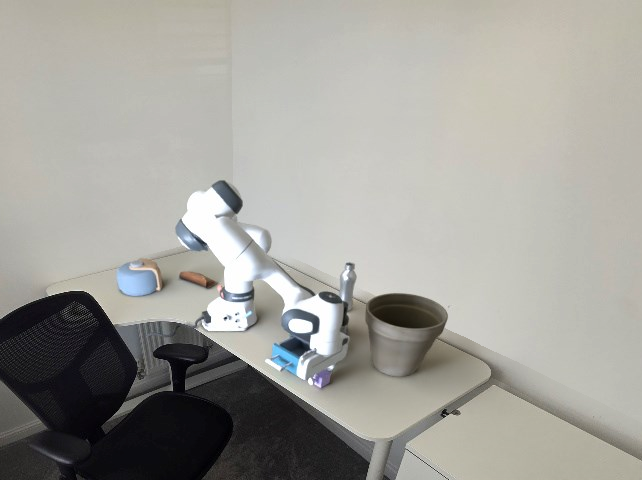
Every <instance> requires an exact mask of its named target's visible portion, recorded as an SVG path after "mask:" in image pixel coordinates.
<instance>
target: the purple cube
mask: <svg viewBox="0 0 642 480" xmlns="http://www.w3.org/2000/svg"><path fill="white" fill-rule="evenodd" d="M331 375H332V374H331V373H330V372H328V371H326V369H325V370H323V371H321V372H319V373H318V374H316V375H314V377H313V378H314V379H316V381H315V384H314V385H315V386H317V387H318V388H319V389H322V388H323V387H325V386H327V385H328V384H330V383H331Z"/></svg>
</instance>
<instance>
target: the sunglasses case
mask: <svg viewBox="0 0 642 480" xmlns="http://www.w3.org/2000/svg"><path fill="white" fill-rule="evenodd" d="M178 278H179V279H181V280H185V281H189V282H191V283H194V284H197V285H199V286H202V287H204V288H206V289H210V288H212V287H214V286H216V285H217V284H218V282H217V281H216V280H214V279H212V278H210V277H208V276H205V274H202V273H199V272H196V271H190V270H189V271H188V270H187V271H186V270H184V271H180V272H179V275H178Z"/></svg>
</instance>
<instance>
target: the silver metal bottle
mask: <svg viewBox="0 0 642 480" xmlns="http://www.w3.org/2000/svg"><path fill="white" fill-rule="evenodd" d="M355 267H356V264H355V263H354V262H350V261H349V262H346V263H345V264H344V270H343V271H341V273H340V275H339V292H338V296H339V297H340V298H341V299H342V301H345V302H347V303H348V310H347V312H349V311H351V309H352V308H353V306H354V289H355V285H356V281H357V273H356V271H355V269H356V268H355Z"/></svg>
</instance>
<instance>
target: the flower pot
mask: <svg viewBox="0 0 642 480" xmlns="http://www.w3.org/2000/svg"><path fill="white" fill-rule="evenodd" d="M364 313H365V315H364V322H365V323H366V326H367V331H368V338H369V343H370V344H369V345H370V346H369V347H370V353H371V359H372V360H371V361H372V365H373V366H374V367H375V369H377V371H379V372H381V373H382V374H385V375H387V376H391V377H398V378H399V377H400V378H401V377H407V376H411V375H413V374H415V372H416V370H417V369H418V368H419V366H420V365H421V364H422V362H423V360H424V358H425V357H426V355H428V352H429V351H430V349H431V347H432V346H433V345H434V343H435V341H436V340H437V338H438V337H440V336H441V335H442V334H443V333H444V330H445V327H446V326H447V325H446V324H447V322H448V319H449V314H448V312H447V310H446V308H445V307H444V306H442V305H441V304H440V303H439V302H437V301H434V300H433V299H431V298H428V297H425V296H422V295H417V294H413V293H403V292H391V293H390V292H389V293H383V294H379V295H377V296H374V297H372V298H370V299H369V300H368V301H367V303H366V305H365V312H364Z"/></svg>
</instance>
